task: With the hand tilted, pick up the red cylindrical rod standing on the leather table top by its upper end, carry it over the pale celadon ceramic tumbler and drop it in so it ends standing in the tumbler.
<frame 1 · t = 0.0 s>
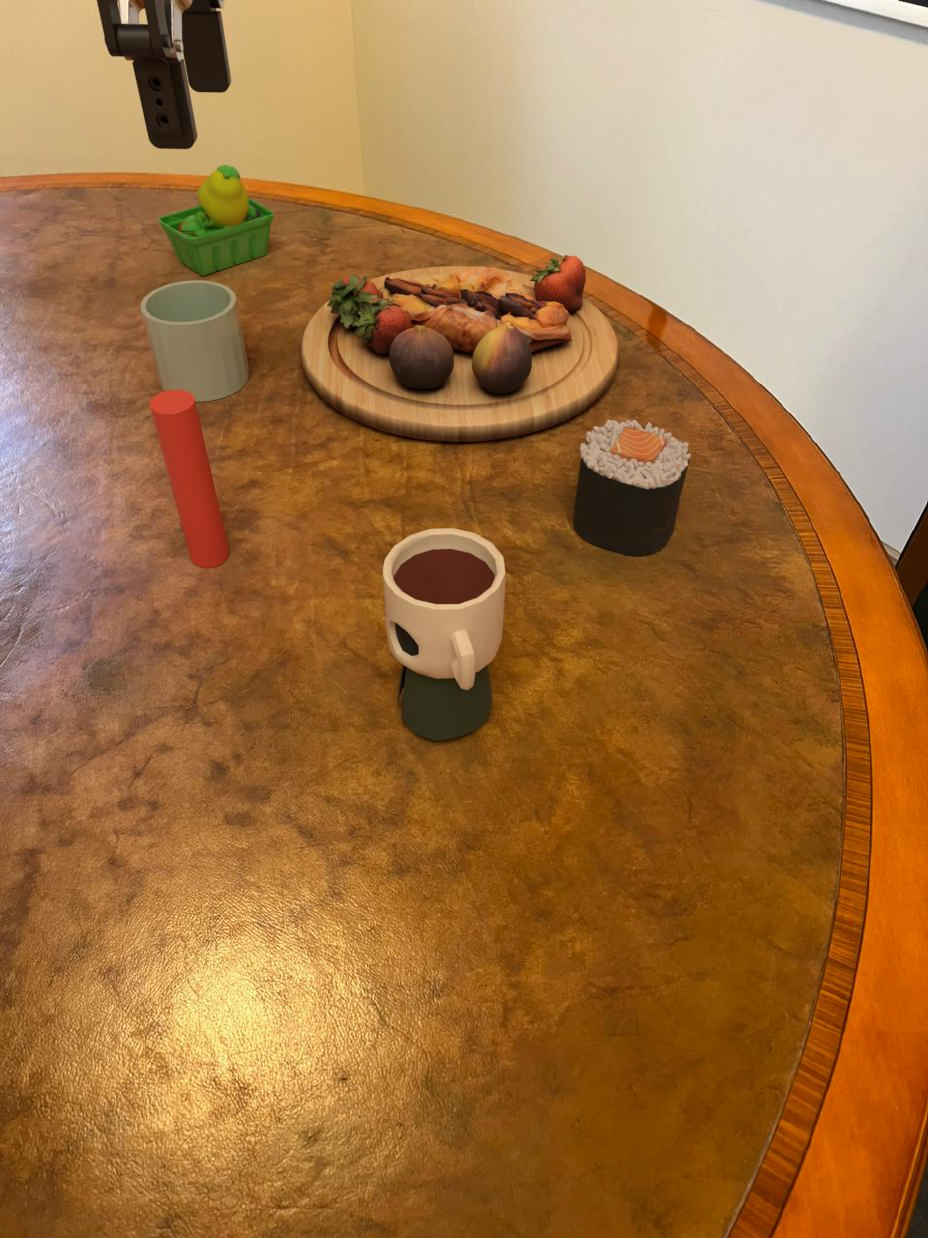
hand: (194, 116, 48), 33 cm above the table, tool pointing down, fingers open, 8 cm apart
wooden plate: (459, 358, 95), on the table
sushi: (622, 524, 77), on the table
red cylindrical rod: (210, 555, 73), on the table
tumbler: (204, 378, 91), on the table
character mug: (444, 711, 63), on the table
fruit basket: (227, 261, 110), on the table
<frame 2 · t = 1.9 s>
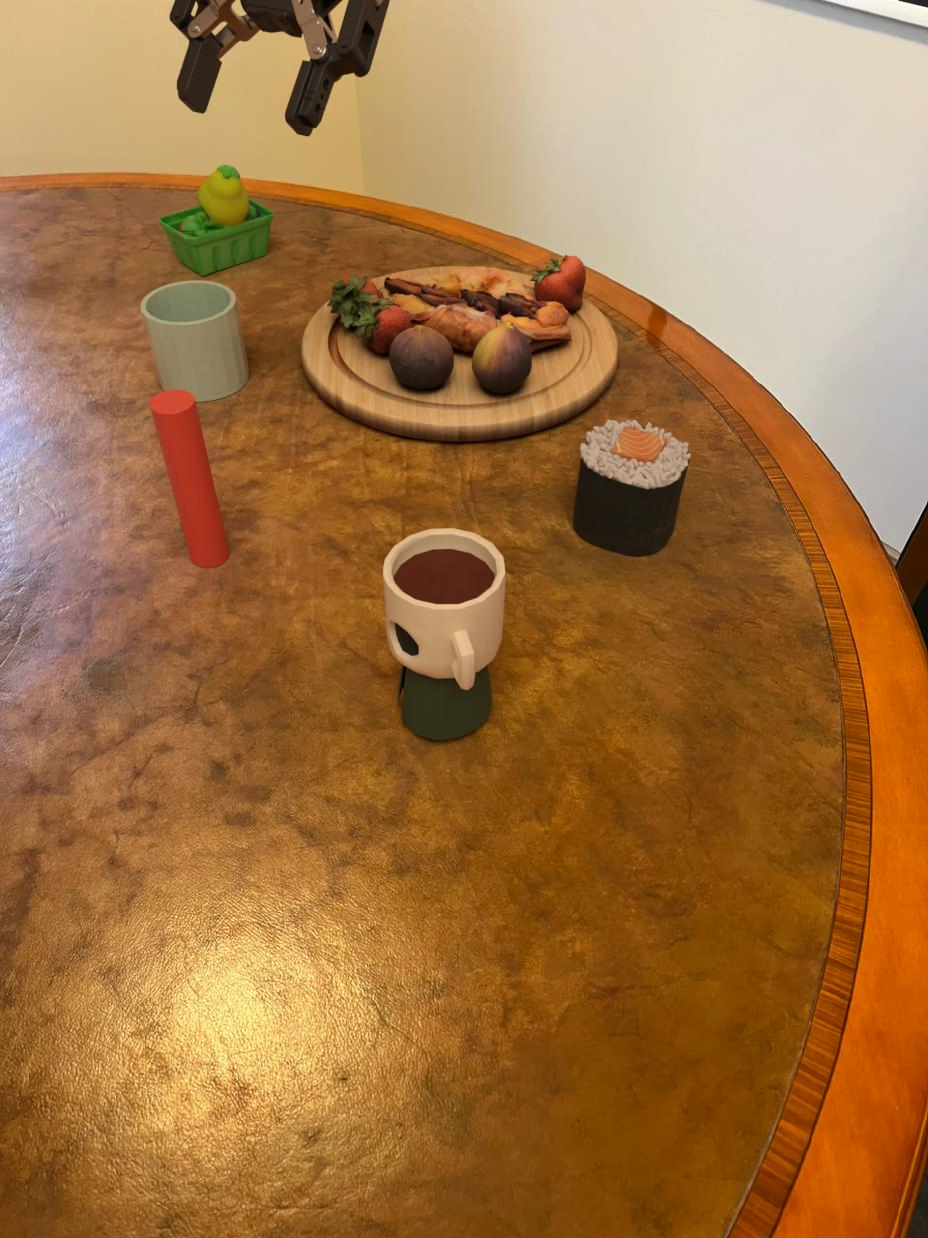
hand: (242, 117, 60), 29 cm above the table, tool tilted 45°, fingers open, 8 cm apart
nothing on the table moved.
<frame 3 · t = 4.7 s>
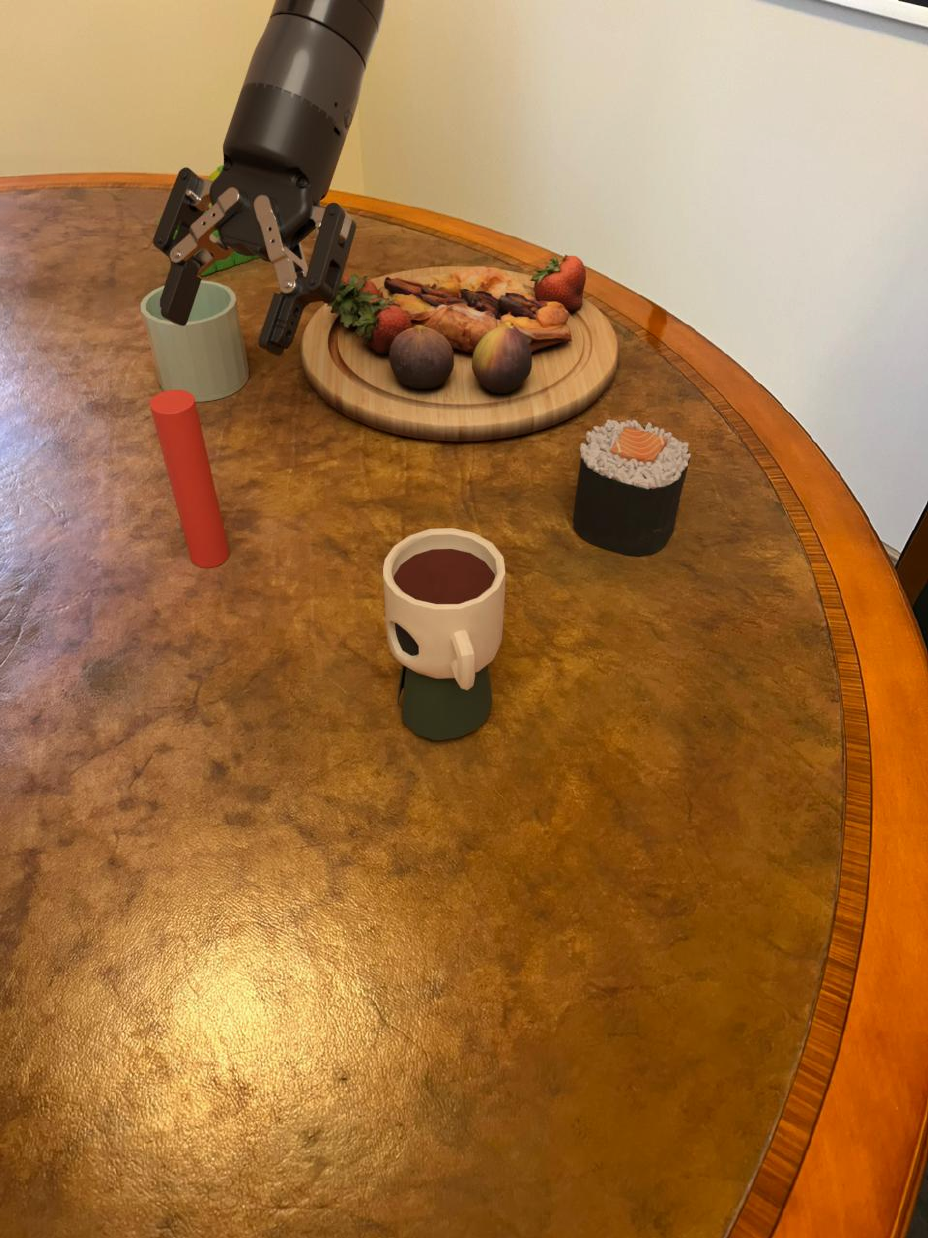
hand: (220, 336, 65), 16 cm above the table, tool tilted 45°, fingers open, 8 cm apart
nothing on the table moved.
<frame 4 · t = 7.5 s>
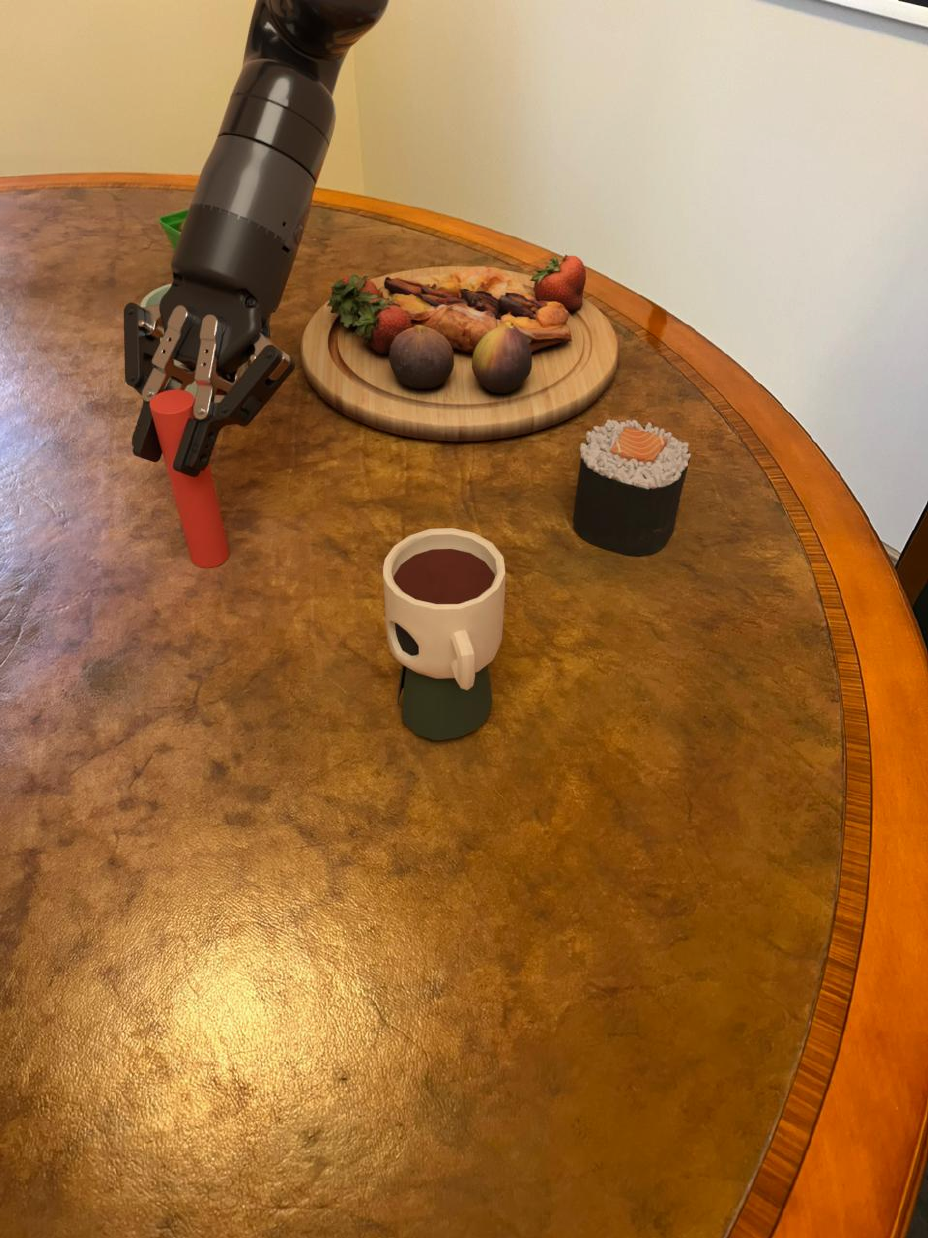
hand: (165, 465, 65), 10 cm above the table, tool tilted 45°, fingers closed on red cylindrical rod, 3 cm apart
red cylindrical rod: (210, 555, 73), on the table, touching gripper
everything else where it was.
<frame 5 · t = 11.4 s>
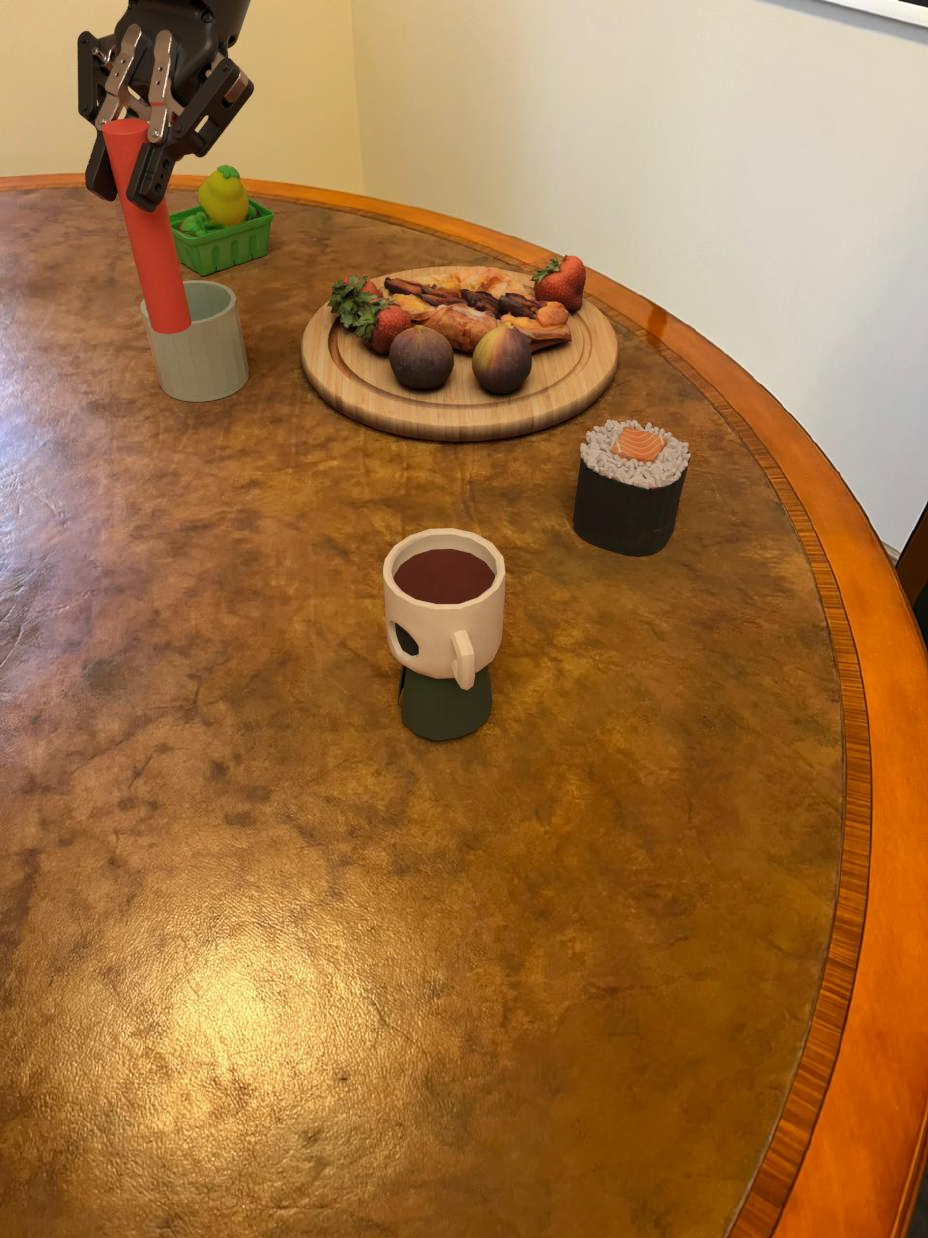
hand: (119, 199, 62), 24 cm above the table, tool tilted 45°, fingers closed on red cylindrical rod, 3 cm apart
red cylindrical rod: (171, 324, 71), point 14 cm above the table, touching gripper
everything else where it was.
when the fingers open (17 cm above the table, at t = 15.8 s): red cylindrical rod drops 6 cm, resting on tumbler.
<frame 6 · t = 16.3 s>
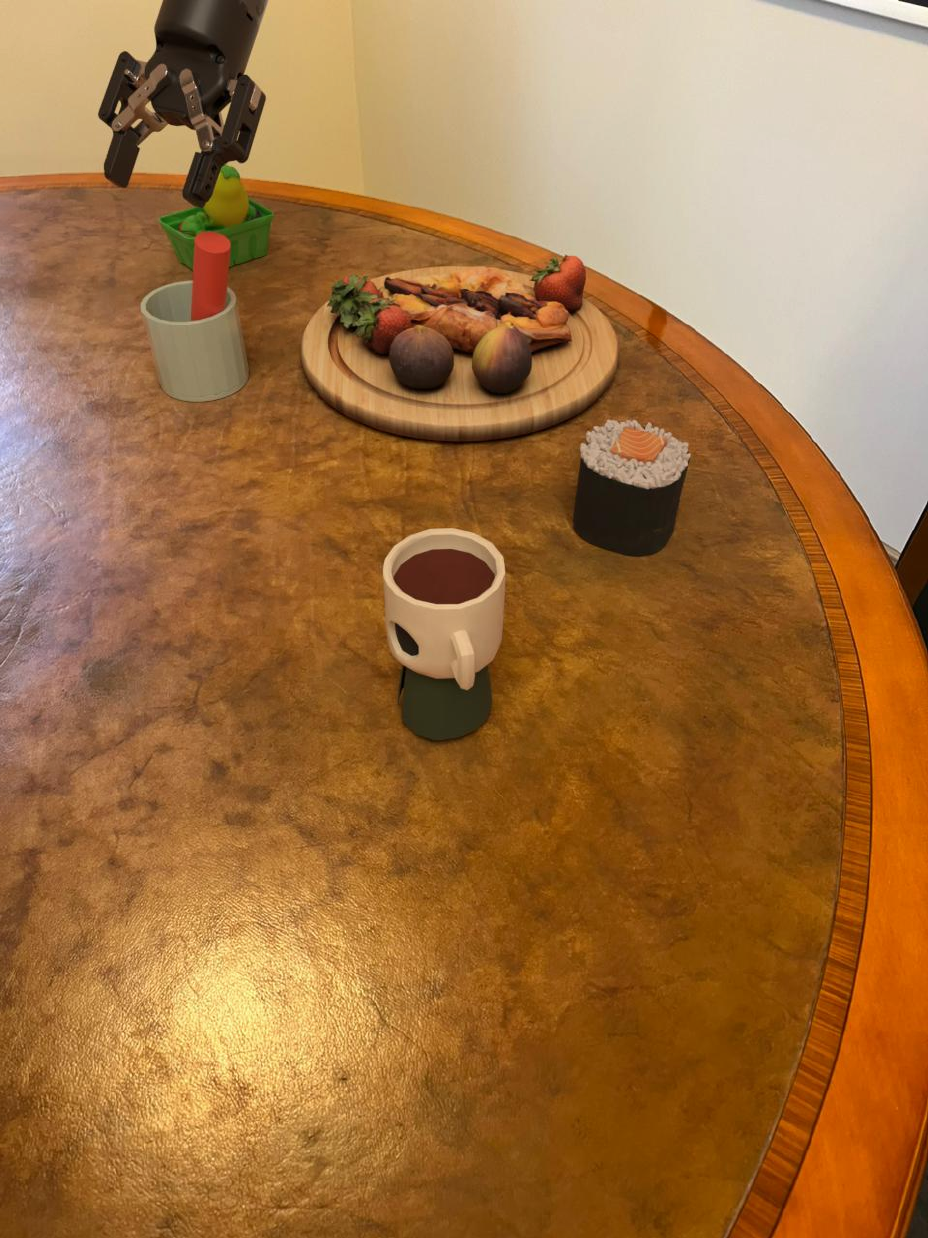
hand: (153, 192, 78), 18 cm above the table, tool tilted 45°, fingers open, 8 cm apart
red cylindrical rod: (204, 368, 91), point 1 cm above the table, tilted 17°, touching tumbler
tumbler: (204, 378, 91), on the table, touching red cylindrical rod
everything else where it was.
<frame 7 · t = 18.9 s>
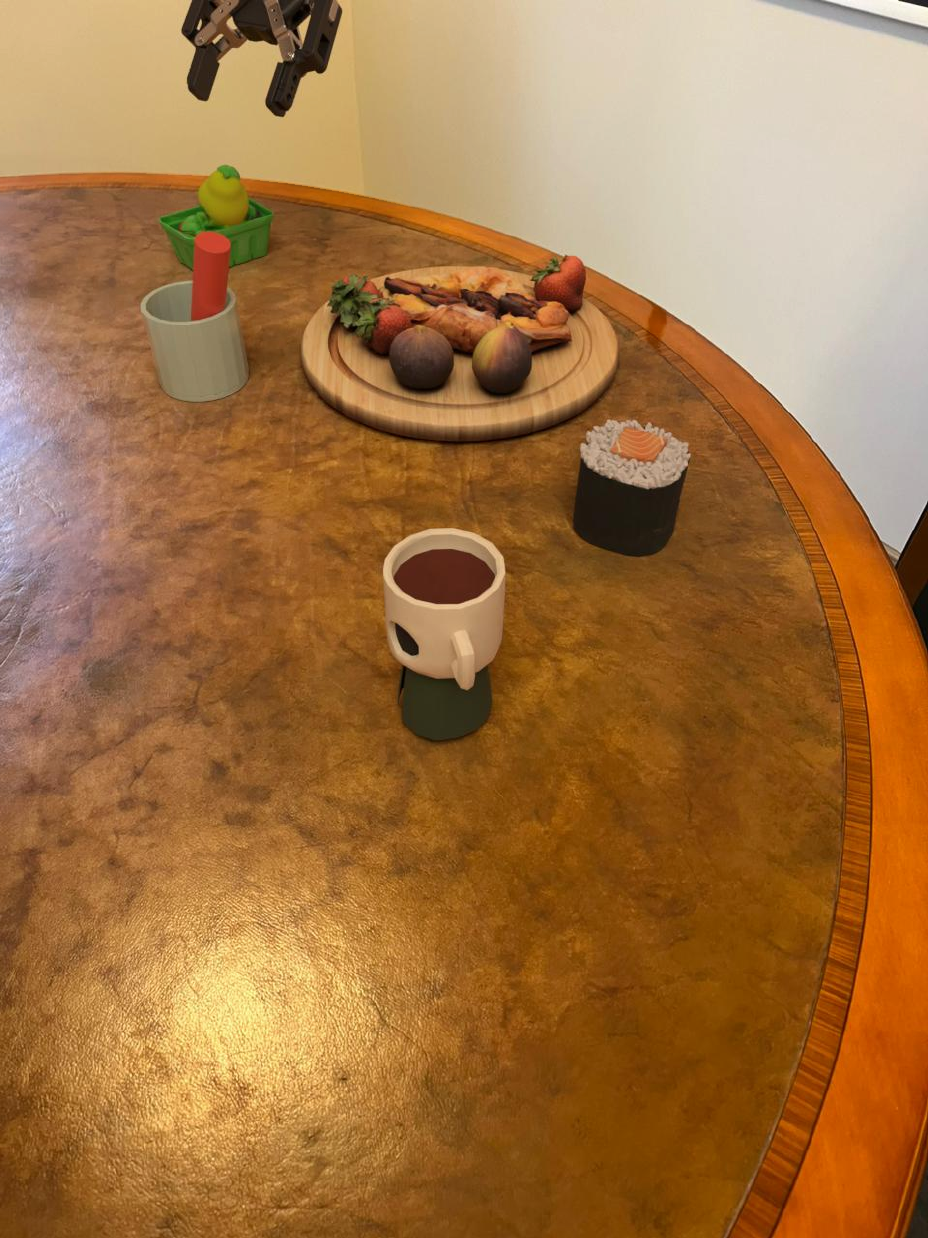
hand: (234, 103, 82), 22 cm above the table, tool tilted 45°, fingers open, 8 cm apart
nothing on the table moved.
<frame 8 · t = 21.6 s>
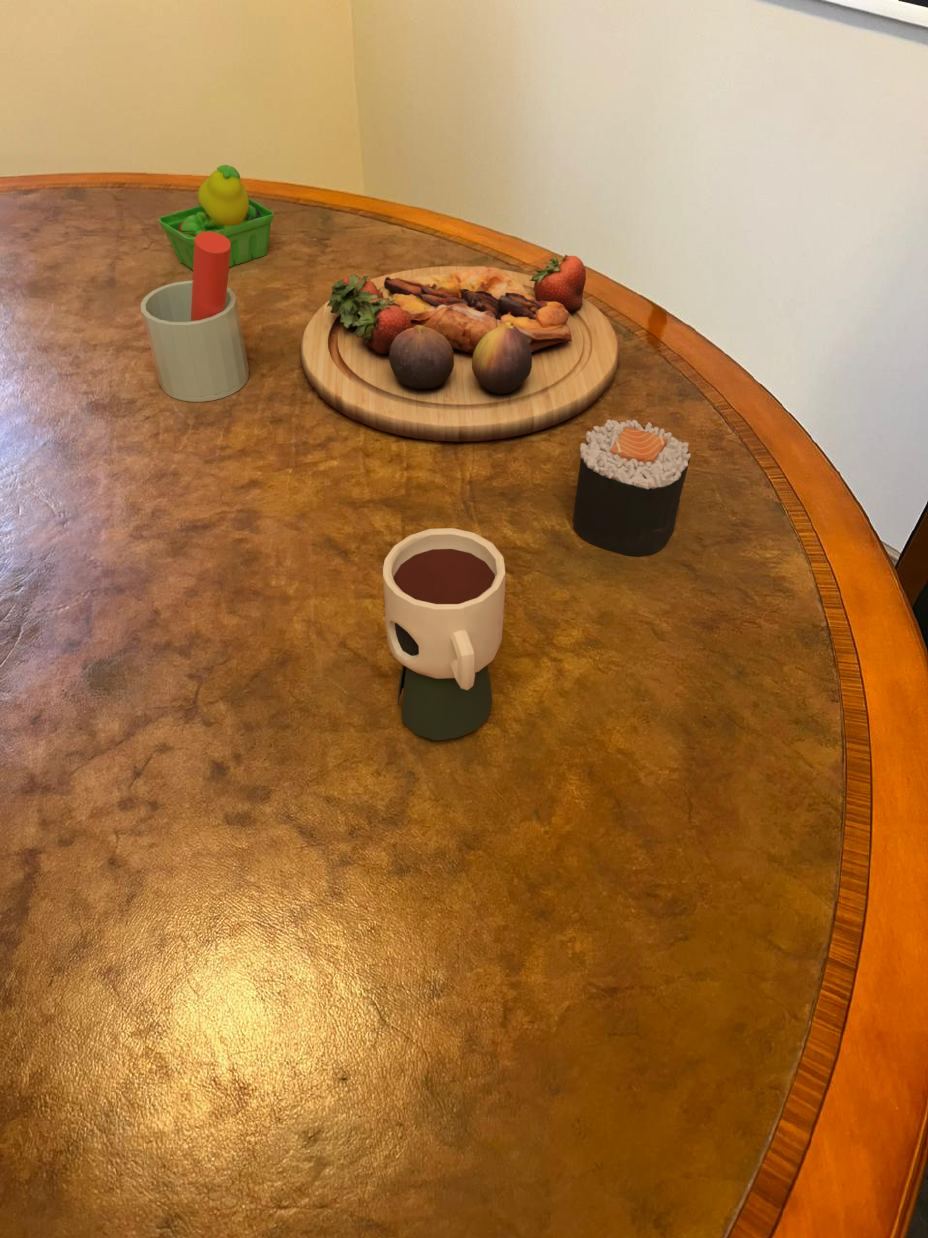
nothing on the table moved.
at the end: red cylindrical rod inside the target area in the tumbler (0.1 cm from its centre), point 1.0 cm above the tumbler's base; the gripper is holding nothing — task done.
